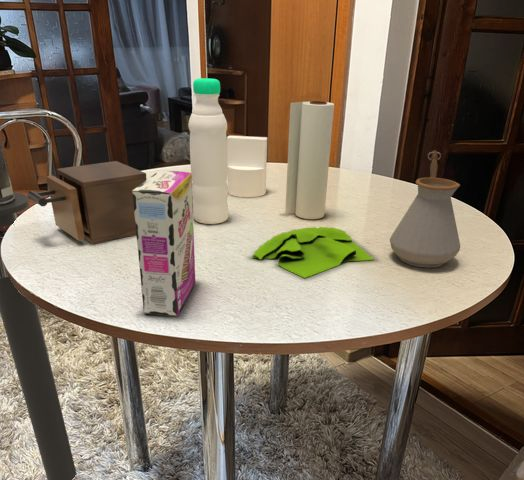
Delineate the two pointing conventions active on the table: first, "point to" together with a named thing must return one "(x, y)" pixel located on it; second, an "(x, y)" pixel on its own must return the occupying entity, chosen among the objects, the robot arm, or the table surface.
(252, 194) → the cylinder with rectangular tab
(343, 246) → the cloth
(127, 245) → the table surface
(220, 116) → the water bottle
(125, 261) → the table surface
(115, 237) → the cabinet
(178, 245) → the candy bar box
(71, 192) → the drawer
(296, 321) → the table surface
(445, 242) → the coffee pot
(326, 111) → the paper towel roll
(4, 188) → the robot arm
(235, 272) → the table surface
